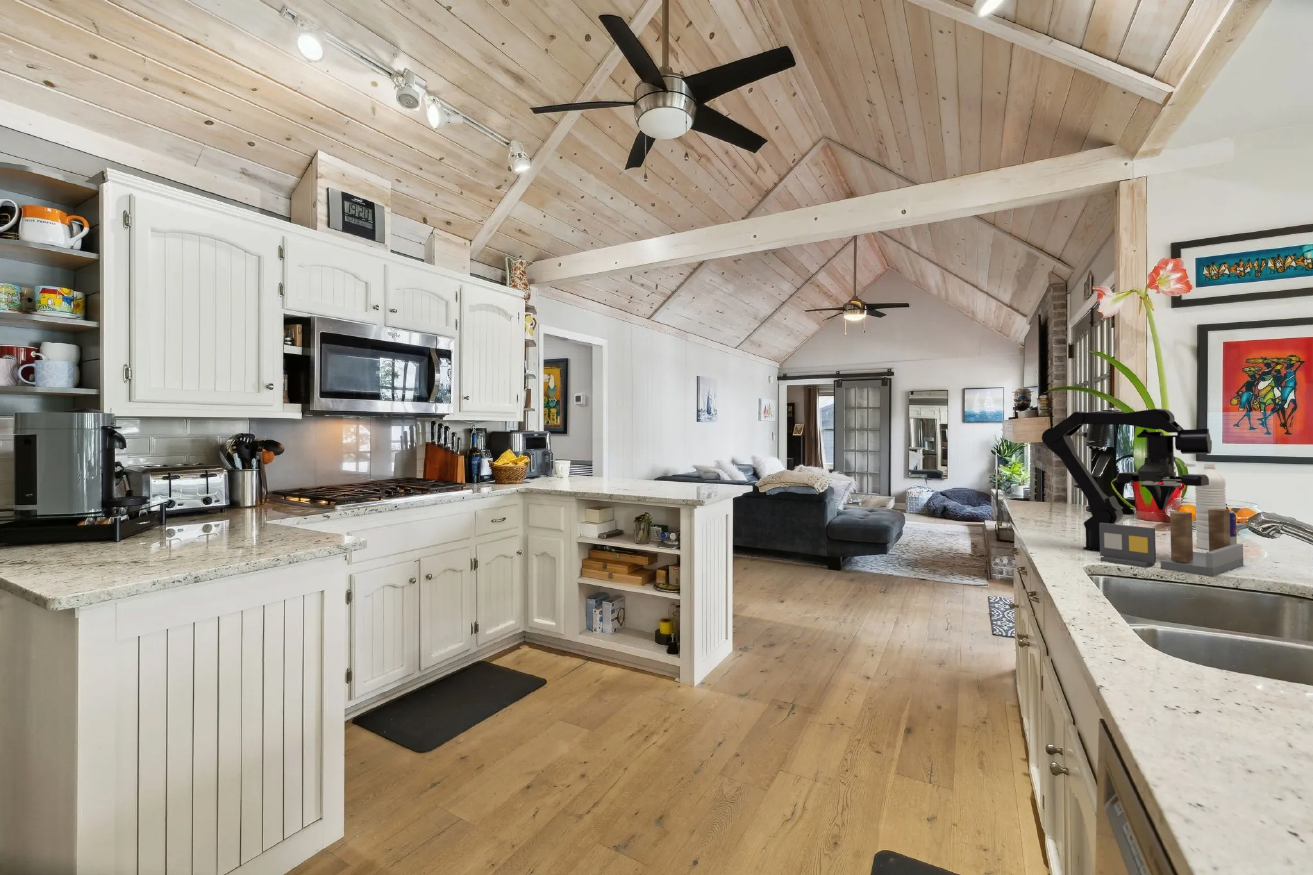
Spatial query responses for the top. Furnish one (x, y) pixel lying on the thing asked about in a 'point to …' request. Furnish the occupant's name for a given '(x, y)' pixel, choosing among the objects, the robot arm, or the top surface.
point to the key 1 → (1181, 536)
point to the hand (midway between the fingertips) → (1161, 510)
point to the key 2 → (1219, 528)
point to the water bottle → (1208, 501)
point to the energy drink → (1233, 528)
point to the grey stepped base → (1209, 561)
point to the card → (1127, 545)
